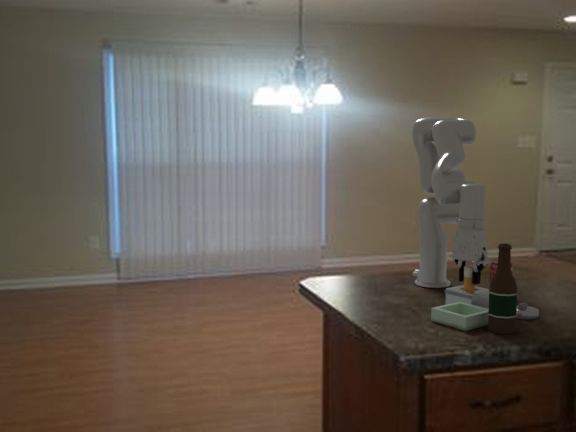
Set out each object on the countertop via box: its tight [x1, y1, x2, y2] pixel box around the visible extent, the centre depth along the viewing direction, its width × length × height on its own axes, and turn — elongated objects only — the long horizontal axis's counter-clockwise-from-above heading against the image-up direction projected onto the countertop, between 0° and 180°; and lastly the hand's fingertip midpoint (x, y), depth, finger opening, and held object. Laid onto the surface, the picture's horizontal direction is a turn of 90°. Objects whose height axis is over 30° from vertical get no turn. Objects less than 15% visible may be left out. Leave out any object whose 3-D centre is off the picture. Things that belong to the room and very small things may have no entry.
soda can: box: [489, 259, 514, 283], centre depth 209 cm, size 7×7×13 cm
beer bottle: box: [487, 243, 518, 335], centre depth 175 cm, size 8×8×24 cm
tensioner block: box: [444, 284, 489, 309], centre depth 200 cm, size 10×11×6 cm
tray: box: [430, 302, 489, 332], centre depth 185 cm, size 12×12×4 cm
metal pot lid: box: [516, 302, 540, 321], centre depth 192 cm, size 9×9×4 cm
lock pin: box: [463, 265, 476, 292], centre depth 200 cm, size 3×3×13 cm
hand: (469, 281), depth 199 cm, fingers open, 4 cm apart
